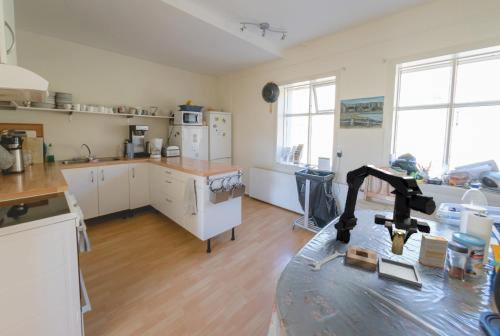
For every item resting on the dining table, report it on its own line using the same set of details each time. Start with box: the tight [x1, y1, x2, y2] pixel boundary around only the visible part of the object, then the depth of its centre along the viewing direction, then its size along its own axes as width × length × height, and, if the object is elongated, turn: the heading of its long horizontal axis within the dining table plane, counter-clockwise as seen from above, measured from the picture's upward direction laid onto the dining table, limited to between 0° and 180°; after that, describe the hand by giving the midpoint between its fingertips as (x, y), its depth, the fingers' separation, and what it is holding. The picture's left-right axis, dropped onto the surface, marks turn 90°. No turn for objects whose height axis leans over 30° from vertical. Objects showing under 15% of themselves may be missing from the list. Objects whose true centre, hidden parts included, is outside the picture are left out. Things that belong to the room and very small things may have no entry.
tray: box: [377, 255, 423, 289], centre depth 93 cm, size 14×14×2 cm
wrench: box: [307, 249, 347, 272], centre depth 102 cm, size 25×2×5 cm
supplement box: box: [418, 233, 449, 269], centre depth 100 cm, size 8×5×13 cm, turn 71°
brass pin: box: [390, 230, 405, 256], centre depth 92 cm, size 4×4×9 cm
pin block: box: [345, 244, 378, 271], centre depth 102 cm, size 12×12×3 cm
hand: (397, 242), depth 92 cm, fingers closed on brass pin, 4 cm apart
